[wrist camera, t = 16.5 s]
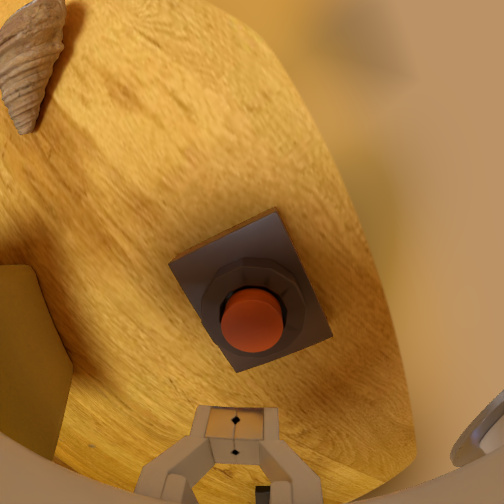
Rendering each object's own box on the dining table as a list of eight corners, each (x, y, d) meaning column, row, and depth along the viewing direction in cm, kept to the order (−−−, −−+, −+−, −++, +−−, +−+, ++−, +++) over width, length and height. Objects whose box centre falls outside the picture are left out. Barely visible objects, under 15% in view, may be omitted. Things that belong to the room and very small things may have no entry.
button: (290, 325, 18) (292, 339, 16) (240, 344, 18) (238, 360, 17) (266, 278, 17) (266, 290, 15) (214, 301, 18) (209, 314, 16)
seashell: (63, 119, 22) (96, 100, 18) (-2, 152, 16) (8, 138, 12) (45, 14, 14) (76, -25, 10) (-22, 35, 9) (-8, -8, 5)
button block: (327, 321, 22) (338, 350, 18) (238, 357, 23) (234, 388, 19) (275, 206, 19) (277, 215, 16) (176, 254, 21) (158, 273, 17)
